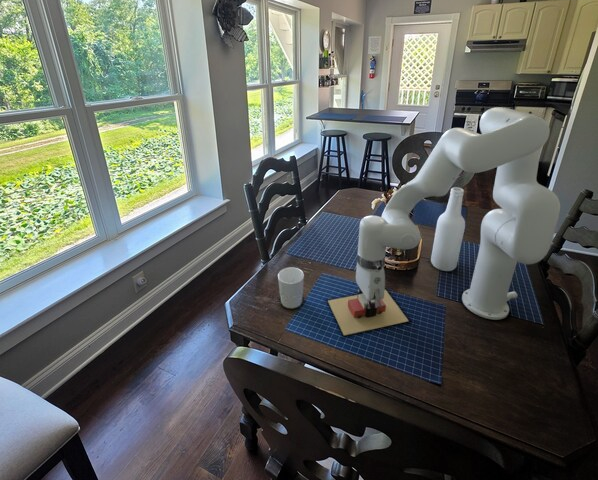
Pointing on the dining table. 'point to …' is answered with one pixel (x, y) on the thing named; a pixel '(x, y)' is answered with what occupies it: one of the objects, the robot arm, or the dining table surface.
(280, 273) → the white cup
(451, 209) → the alcohol
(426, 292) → the dining table surface
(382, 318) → the mat
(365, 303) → the toy car
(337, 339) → the dining table surface
